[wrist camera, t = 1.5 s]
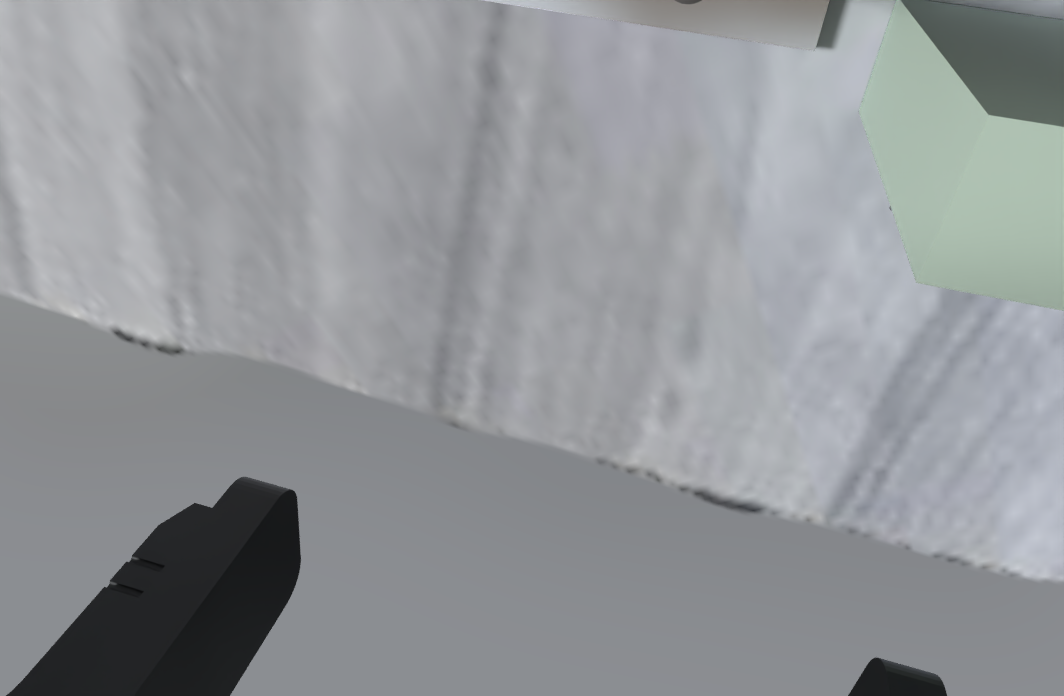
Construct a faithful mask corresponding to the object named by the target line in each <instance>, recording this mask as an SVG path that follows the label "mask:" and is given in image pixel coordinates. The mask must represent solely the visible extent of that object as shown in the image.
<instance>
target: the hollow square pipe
mask: <svg viewBox="0 0 1064 696" xmlns="http://www.w3.org/2000/svg"><path fill="white" fill-rule="evenodd" d="M859 114H860V117H861V120H862V123H863V126H864V129H865V132H866V135H867V138H868V141H869V143H870V146H871V149H872V152H873V155H874V158H875V161H876V164H877V167H878V170H879V173H880V176H881V179H882V182H883V185H884V188H885V191H886V194H887V197H888V200H889V203H890V210H891V211H892V212H893V215H894V218H895V221H896V224H897V227H898V230H899V233H900V236H901V239H902V242H903V245H904V248H905V251H906V254H907V257H908V260H909V263H910V266H911V269H912V271H913V274H914V277H915V280H916V283H920V284H925V285H930V286H936V287H941V288H946V289H951V290H957V291H962V292H967V293H973V294H978V295H983V296H988V297H994V298H999V299H1004V300H1010V301H1015V302H1020V303H1025V304H1031V305H1036V306H1041V307H1046V308H1052V309H1057V310H1062V311H1064V20H1061V19H1054V18H1047V17H1040V16H1033V15H1026V14H1019V13H1012V12H1005V11H997V10H990V9H983V8H976V7H969V6H962V5H955V4H948V3H941V2H934V1H927V0H896V2H895V5H894V8H893V11H892V14H891V17H890V20H889V23H888V26H887V29H886V32H885V35H884V38H883V41H882V44H881V47H880V50H879V53H878V56H877V59H876V62H875V65H874V68H873V71H872V74H871V77H870V80H869V83H868V86H867V89H866V92H865V95H864V98H863V101H862V104H861V107H860V110H859Z"/></svg>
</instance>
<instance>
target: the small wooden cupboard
mask: <svg viewBox="0 0 1064 696" xmlns="http://www.w3.org/2000/svg"><path fill="white" fill-rule="evenodd" d="M483 1H489V2H496V3H503V4H509V5H516V6H522V7H529V8H535V9H542V10H548V11H555V12H561V13H568V14H575V15H581V16H588V17H594V18H601V19H607V20H614V21H620V22H627V23H633V24H640V25H647V26H653V27H660V28H666V29H673V30H679V31H686V32H692V33H699V34H705V35H712V36H719V37H725V38H732V39H738V40H745V41H751V42H758V43H764V44H771V45H777V46H784V47H790V48H797V49H804V50H810V51H815V49H816V45H817V42H818V39H819V35H820V32H821V28H822V25H823V21H824V18H825V14H826V11H827V7H828V4H829V0H483Z"/></svg>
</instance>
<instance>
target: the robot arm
mask: <svg viewBox="0 0 1064 696" xmlns="http://www.w3.org/2000/svg"><path fill="white" fill-rule="evenodd" d="M297 506H298V505H297V496H296V493H295V492H294V491H293V490H290V489H287V488H283V487H279V486H276V485H273V484H269V483H265V482H262V481H259V480H255V479H252V478H248V477H241V478H239V479H237V480H236V481H235V482H234V483H233V484H232V485H231V486H230V487H229V488H228V490H227V491H226V492H225V493H224V494H223V496H222V497H221V498H220V499H219V501H218V502H217V503H216V504H215V506H214V507H213V508H210V507H207V506H204V505H200V504H196V503H194V504H192V505H191V506H189V507H188V508H186V509H184V510H183V511H181V512H179V513H178V514H176V515H174V516H173V517H171V518H170V519H168V520H166V521H165V522H163V523H161V524H160V525H158V527H157V528H156V529H155V530H154V531H153V532H152V533H151V534H150V536H149V537H148V538H147V539H146V540H145V541H144V543H143V544H142V545H141V546H140V547H139V548H138V549H137V550H136V552H135V553H134V554H133V555H132V559H131V561H130V562H126V563H125V564H124V565H123V566H122V568H121V569H120V570H119V571H118V572H117V573H116V574H115V575H114V577H113V578H112V579H111V580H110V584H109V586H108V587H107V588H106V587H104V588H103V589H102V590H101V591H100V593H99V594H98V595H97V596H96V597H95V599H94V600H93V601H92V602H91V603H90V604H89V605H88V606H87V607H86V609H85V610H84V611H83V612H82V613H81V614H80V615H79V617H78V618H77V619H76V620H75V621H74V622H73V623H72V624H71V626H70V627H69V628H68V629H67V630H66V631H65V632H64V634H63V635H62V636H61V637H60V638H59V639H58V640H57V642H56V643H55V644H54V645H53V646H52V647H51V648H50V650H49V651H48V652H47V653H46V654H45V655H44V656H43V658H42V659H41V660H40V661H39V662H38V663H37V664H36V666H35V667H34V668H33V669H32V670H31V671H30V672H29V674H28V675H27V676H26V677H25V678H24V679H23V680H22V681H21V682H20V683H19V684H18V685H17V686H16V687H15V688H14V690H12V691H11V692H10V693H9V694H8V695H6V696H230V694H231V693H232V691H233V690H234V688H235V686H236V685H237V683H238V681H239V680H240V678H241V677H242V675H243V674H244V672H245V670H246V669H247V667H248V666H249V664H250V662H251V660H252V659H253V657H254V656H255V654H256V653H257V651H258V649H259V648H260V646H261V645H262V643H263V641H264V640H265V638H266V636H267V635H268V633H269V631H270V630H271V629H272V627H273V625H274V624H275V622H276V620H277V618H278V617H279V616H280V614H281V612H282V611H283V609H284V607H285V606H286V604H287V603H288V600H289V599H290V597H291V595H292V592H293V590H294V588H295V585H296V582H297V579H298V575H299V570H300V563H301V555H300V538H299V521H298V507H297ZM848 696H947V694H946V690H945V687H944V684H943V682H942V680H941V679H940V677H938V675H936V674H933V673H930V672H926V671H922V670H919V669H916V668H912V667H909V666H905V665H901V664H898V663H894V662H891V661H887V660H884V659H880V658H874V659H872V660H871V661H870V662H869V663H868V665H867V666H866V668H865V669H864V671H863V673H862V674H861V676H860V677H859V679H858V681H857V682H856V684H855V686H854V687H853V689H852V690H851V692H850V694H849V695H848Z"/></svg>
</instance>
